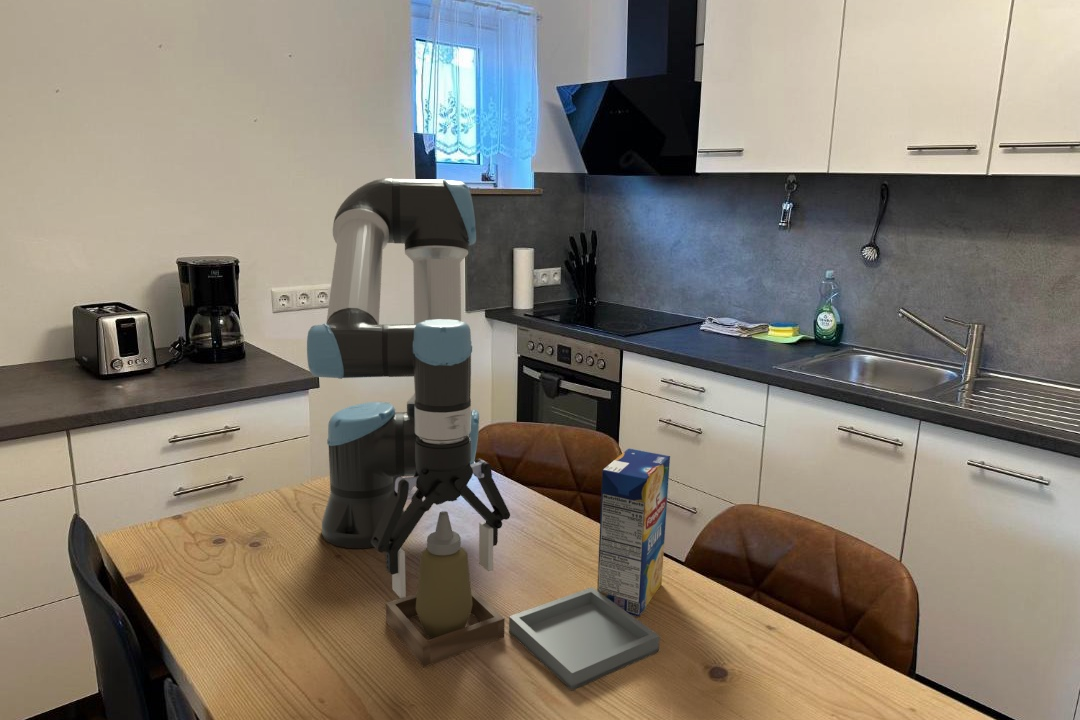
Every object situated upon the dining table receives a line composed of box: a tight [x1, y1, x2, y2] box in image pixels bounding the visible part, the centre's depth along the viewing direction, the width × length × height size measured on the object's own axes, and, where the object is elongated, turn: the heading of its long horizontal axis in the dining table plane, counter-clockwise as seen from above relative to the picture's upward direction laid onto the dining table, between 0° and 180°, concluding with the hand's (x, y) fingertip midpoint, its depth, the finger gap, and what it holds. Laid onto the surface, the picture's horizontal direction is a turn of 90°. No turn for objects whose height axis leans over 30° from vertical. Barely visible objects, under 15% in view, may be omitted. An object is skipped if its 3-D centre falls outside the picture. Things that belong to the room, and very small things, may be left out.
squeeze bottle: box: [416, 510, 473, 639], centre depth 103 cm, size 8×8×18 cm
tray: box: [508, 586, 661, 691], centre depth 103 cm, size 15×15×2 cm
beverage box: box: [596, 448, 671, 618], centre depth 113 cm, size 7×11×22 cm, turn 153°
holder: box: [385, 587, 506, 668], centre depth 105 cm, size 12×12×3 cm
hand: (444, 579), depth 103 cm, fingers open, 13 cm apart
